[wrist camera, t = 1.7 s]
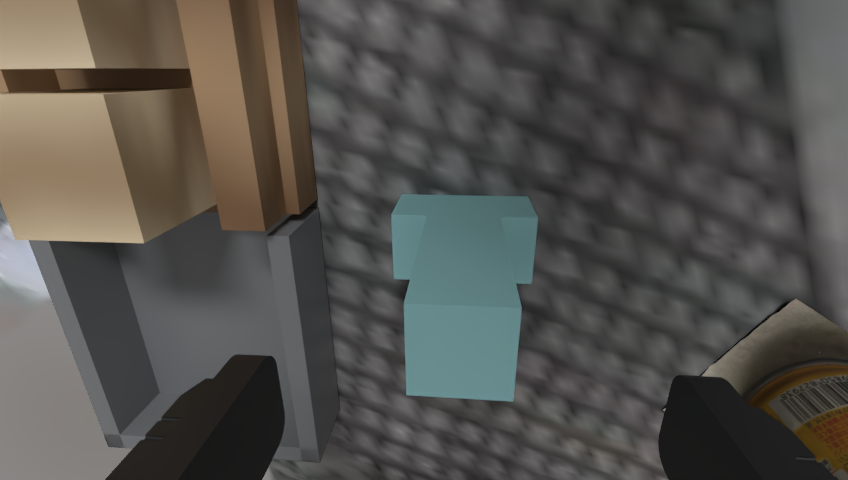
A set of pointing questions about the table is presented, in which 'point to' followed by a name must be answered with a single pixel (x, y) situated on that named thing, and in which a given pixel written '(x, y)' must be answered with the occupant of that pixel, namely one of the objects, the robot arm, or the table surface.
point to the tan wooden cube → (91, 35)
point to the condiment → (796, 379)
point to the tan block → (102, 163)
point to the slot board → (230, 104)
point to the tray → (198, 321)
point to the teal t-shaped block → (463, 290)
